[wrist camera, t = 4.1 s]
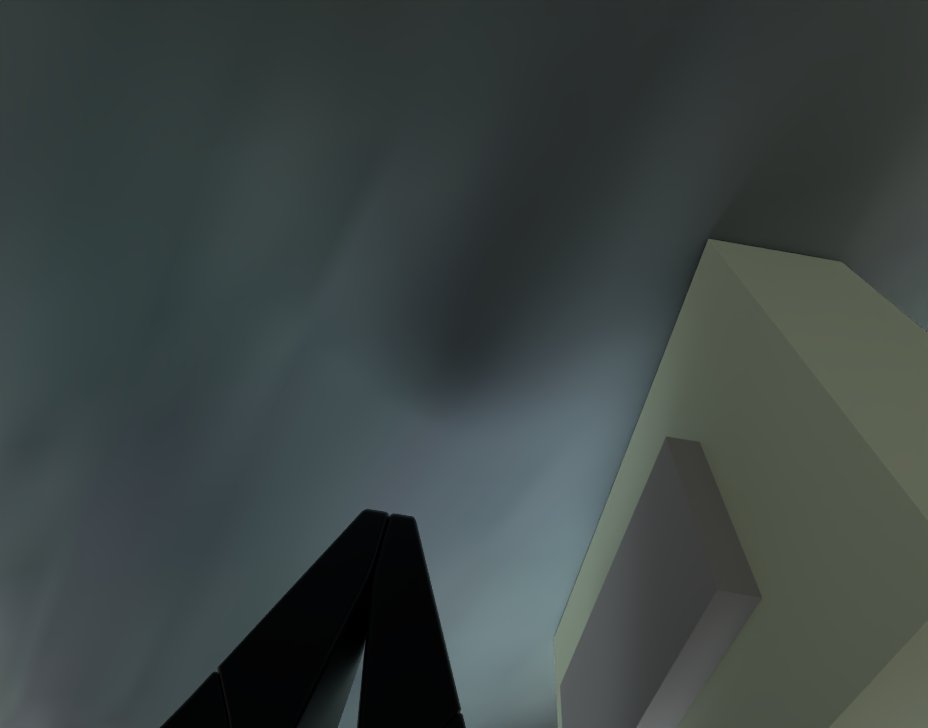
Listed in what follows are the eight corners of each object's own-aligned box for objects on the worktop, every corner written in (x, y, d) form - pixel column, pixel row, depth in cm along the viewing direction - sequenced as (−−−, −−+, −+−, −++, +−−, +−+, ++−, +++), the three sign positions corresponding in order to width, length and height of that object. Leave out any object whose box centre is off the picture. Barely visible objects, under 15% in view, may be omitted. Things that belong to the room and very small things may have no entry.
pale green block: (841, 261, 9) (1288, 628, 4) (636, 653, 14) (702, 1026, 9) (678, 233, 9) (898, 561, 4) (534, 636, 14) (542, 999, 9)
